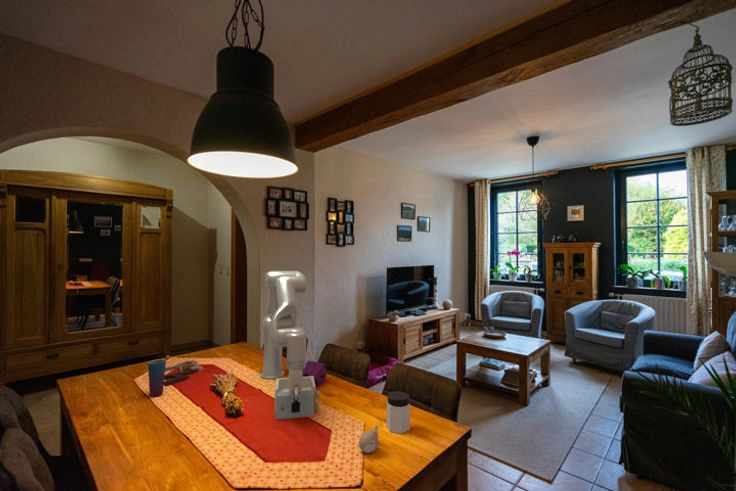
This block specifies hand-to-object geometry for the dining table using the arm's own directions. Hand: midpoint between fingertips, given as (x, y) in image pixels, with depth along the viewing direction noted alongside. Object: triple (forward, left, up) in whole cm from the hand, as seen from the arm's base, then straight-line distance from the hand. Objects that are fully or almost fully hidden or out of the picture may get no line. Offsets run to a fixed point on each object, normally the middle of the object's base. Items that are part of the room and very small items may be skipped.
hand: (295, 406), depth 134 cm
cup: (-55, -41, -4) cm, 69 cm away
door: (0, 0, -4) cm, 4 cm away
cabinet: (-7, +4, -4) cm, 8 cm away
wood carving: (-80, -28, -4) cm, 84 cm away
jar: (+31, +27, -4) cm, 41 cm away
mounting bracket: (-24, +18, -4) cm, 31 cm away
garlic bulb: (+36, +9, -4) cm, 37 cm away
